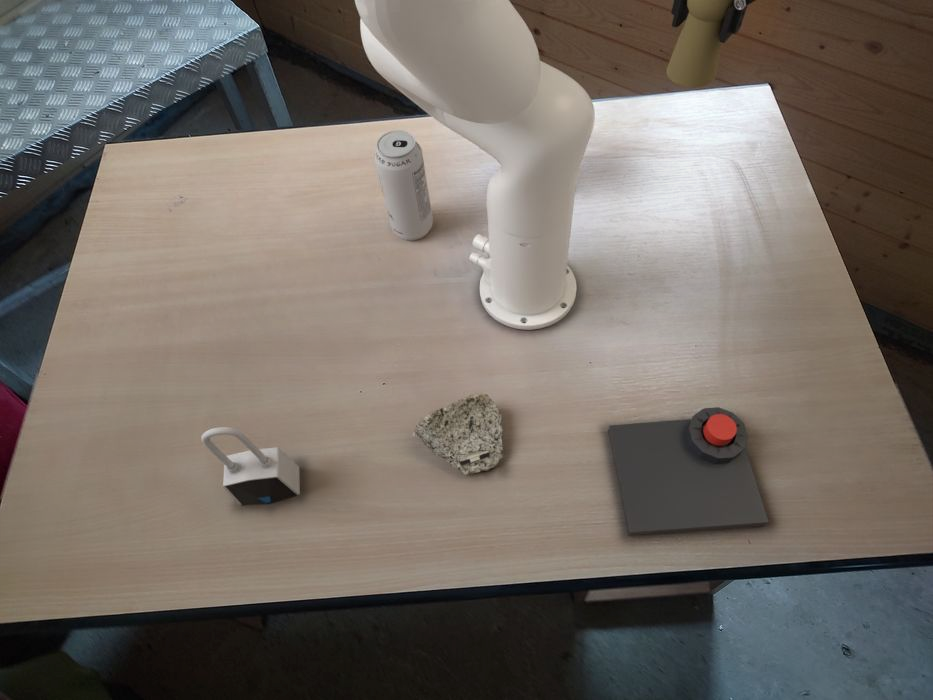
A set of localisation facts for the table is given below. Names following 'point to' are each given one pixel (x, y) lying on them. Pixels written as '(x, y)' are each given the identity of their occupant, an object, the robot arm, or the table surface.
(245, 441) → the padlock
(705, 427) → the tare button
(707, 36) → the pawn game piece
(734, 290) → the table surface
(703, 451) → the grey flat block
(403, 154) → the energy drink can
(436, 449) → the rock sample
